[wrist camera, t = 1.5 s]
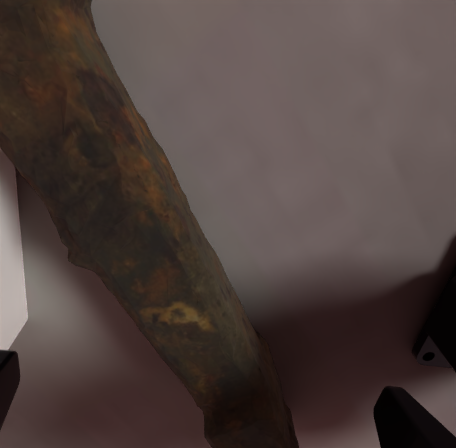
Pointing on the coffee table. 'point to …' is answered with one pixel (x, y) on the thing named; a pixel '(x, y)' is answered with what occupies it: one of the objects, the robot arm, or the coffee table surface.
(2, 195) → the tile
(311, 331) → the coffee table surface
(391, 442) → the robot arm
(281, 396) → the hand tool
